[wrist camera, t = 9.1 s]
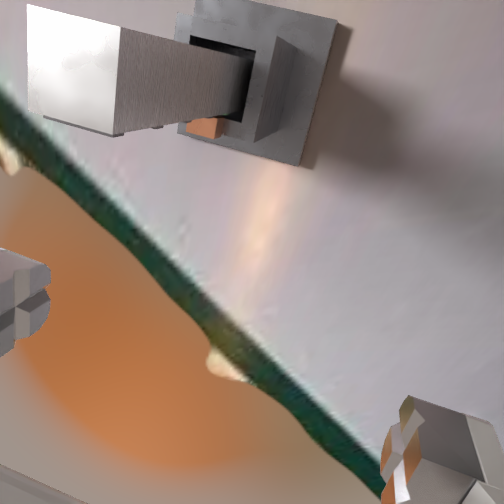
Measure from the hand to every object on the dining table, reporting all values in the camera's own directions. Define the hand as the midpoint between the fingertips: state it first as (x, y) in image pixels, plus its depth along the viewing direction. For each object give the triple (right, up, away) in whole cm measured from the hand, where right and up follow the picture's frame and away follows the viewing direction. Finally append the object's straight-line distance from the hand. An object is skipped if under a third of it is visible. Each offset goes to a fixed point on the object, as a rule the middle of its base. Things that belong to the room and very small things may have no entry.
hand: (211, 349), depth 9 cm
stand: (+1, +20, +34) cm, 40 cm away
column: (-1, +17, +27) cm, 32 cm away
